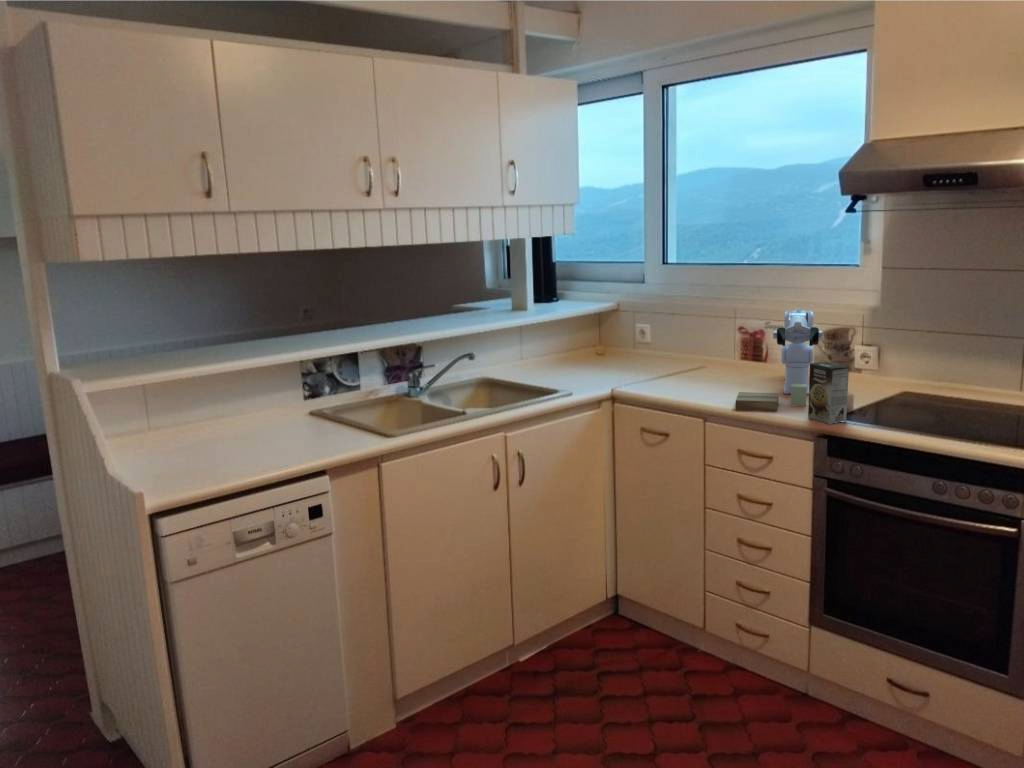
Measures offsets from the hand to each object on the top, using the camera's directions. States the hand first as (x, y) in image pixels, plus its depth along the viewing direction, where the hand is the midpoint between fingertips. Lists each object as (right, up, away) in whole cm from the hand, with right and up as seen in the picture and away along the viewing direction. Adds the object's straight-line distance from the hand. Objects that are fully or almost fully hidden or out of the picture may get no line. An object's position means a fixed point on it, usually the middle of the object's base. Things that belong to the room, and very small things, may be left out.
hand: (797, 342), depth 248 cm
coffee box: (+3, -23, -15) cm, 27 cm away
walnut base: (-11, -19, +5) cm, 23 cm away
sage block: (+2, -19, +6) cm, 20 cm away
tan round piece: (+13, -20, -4) cm, 24 cm away
